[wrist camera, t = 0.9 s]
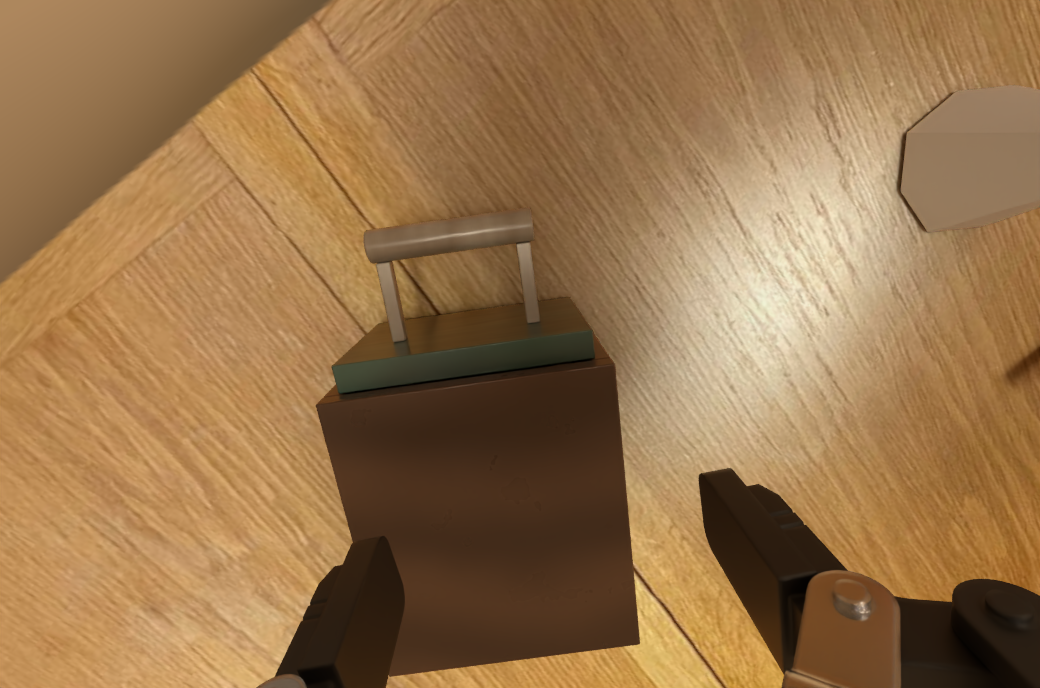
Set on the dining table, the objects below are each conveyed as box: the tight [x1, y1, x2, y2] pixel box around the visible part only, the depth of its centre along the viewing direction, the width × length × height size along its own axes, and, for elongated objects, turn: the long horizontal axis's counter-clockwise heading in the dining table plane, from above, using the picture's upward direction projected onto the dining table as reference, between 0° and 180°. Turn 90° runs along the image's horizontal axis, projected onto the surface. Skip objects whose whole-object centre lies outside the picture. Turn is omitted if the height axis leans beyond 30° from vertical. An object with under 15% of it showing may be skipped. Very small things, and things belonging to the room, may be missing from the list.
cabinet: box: [316, 333, 640, 677], centre depth 25 cm, size 14×12×9 cm
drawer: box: [332, 207, 595, 394], centre depth 24 cm, size 17×10×7 cm, turn 8°
